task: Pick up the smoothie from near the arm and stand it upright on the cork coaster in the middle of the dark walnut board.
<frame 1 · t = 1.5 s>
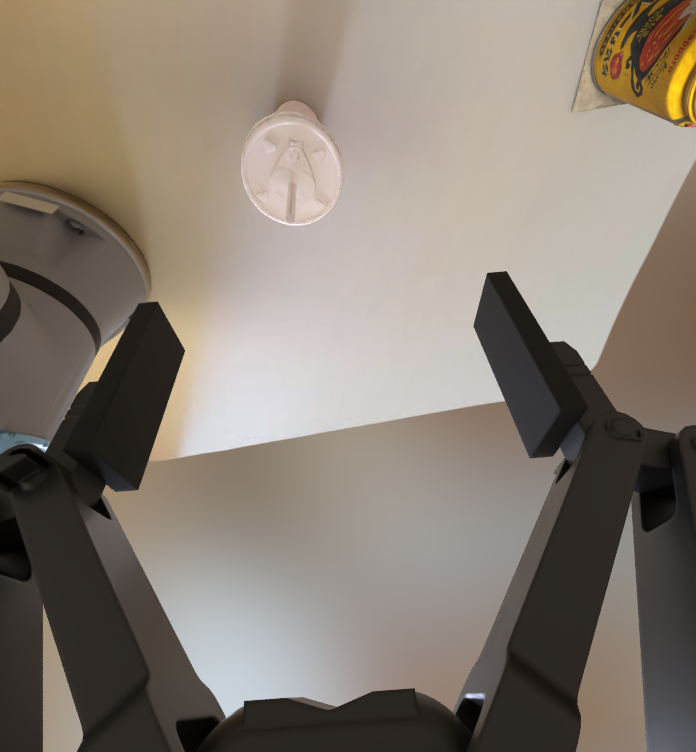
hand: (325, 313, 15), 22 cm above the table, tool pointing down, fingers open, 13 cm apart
condiment: (644, 42, 27), on the table
smoothie: (295, 128, 29), on the table
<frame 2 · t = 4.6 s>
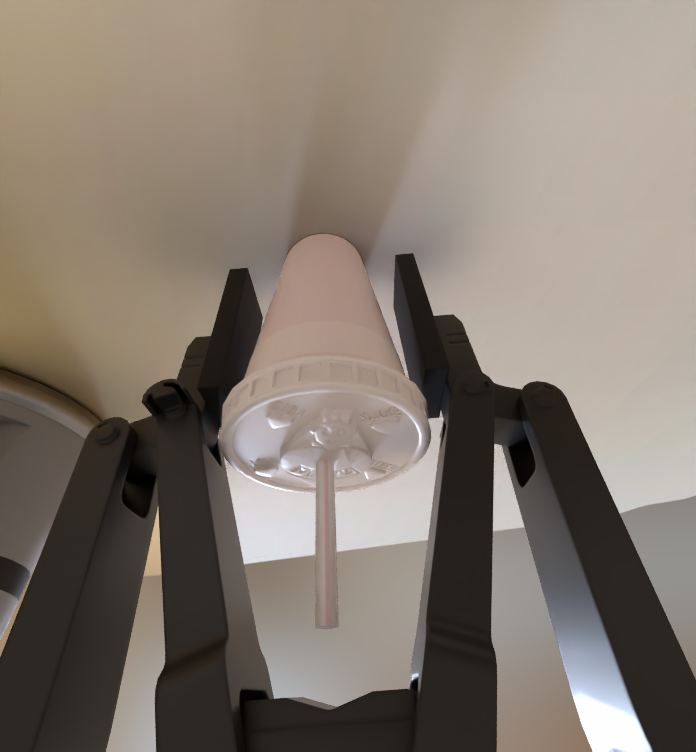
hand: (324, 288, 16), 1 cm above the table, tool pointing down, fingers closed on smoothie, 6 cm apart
smoothie: (324, 268, 18), on the table, touching gripper
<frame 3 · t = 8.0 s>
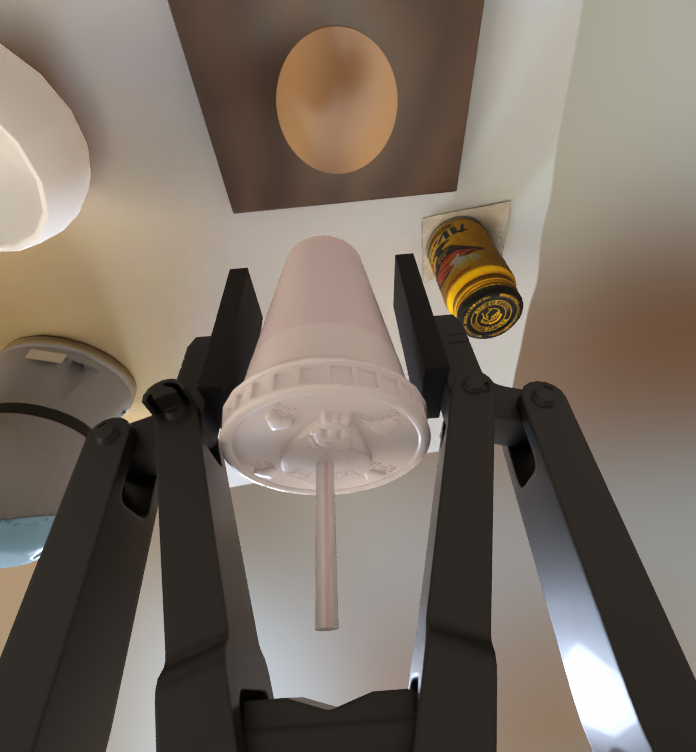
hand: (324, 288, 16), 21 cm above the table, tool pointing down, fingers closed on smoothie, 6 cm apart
board: (336, 103, 28), on the table
condiment: (462, 242, 38), on the table
smoothie: (324, 269, 18), point 19 cm above the table, touching gripper
cup: (23, 118, 28), on the table
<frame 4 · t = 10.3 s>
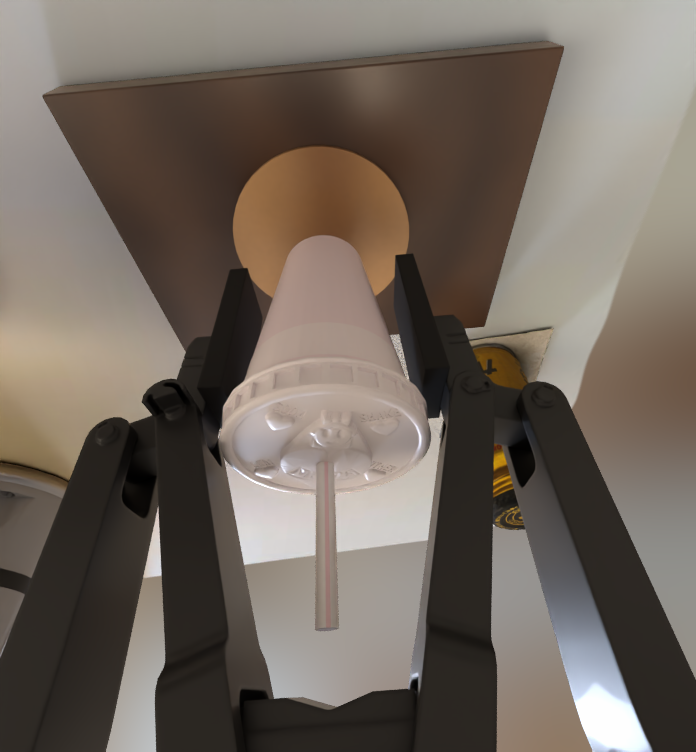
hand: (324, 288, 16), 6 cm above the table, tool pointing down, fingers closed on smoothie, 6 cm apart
board: (322, 228, 20), on the table
condiment: (486, 366, 30), on the table
smoothie: (324, 269, 18), point 4 cm above the table, touching gripper
when the fingers open (3 cm above the table, at t = 11.5 s): smoothie stays where it is, resting on board.
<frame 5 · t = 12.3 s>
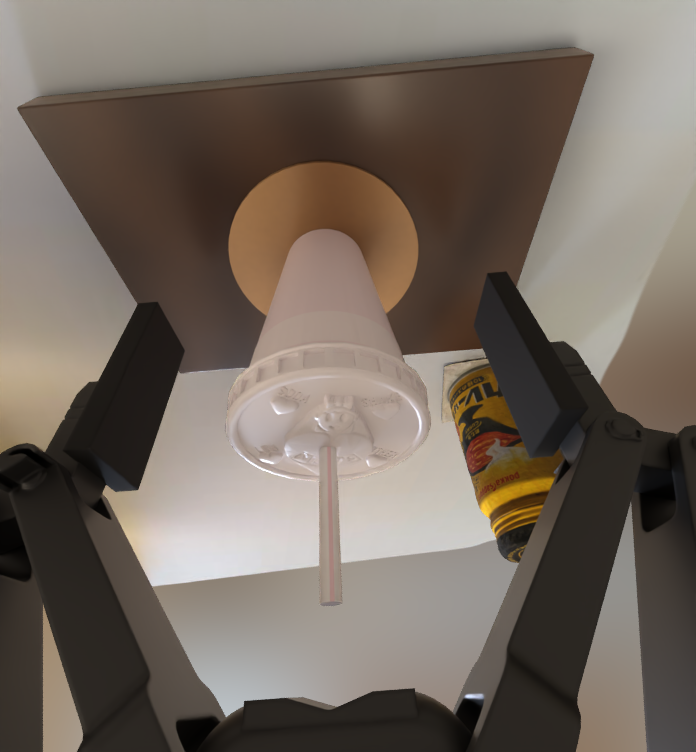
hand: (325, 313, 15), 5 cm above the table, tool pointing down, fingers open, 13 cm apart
board: (324, 246, 19), on the table
condiment: (496, 385, 29), on the table
smoothie: (325, 263, 18), point 2 cm above the table, touching board
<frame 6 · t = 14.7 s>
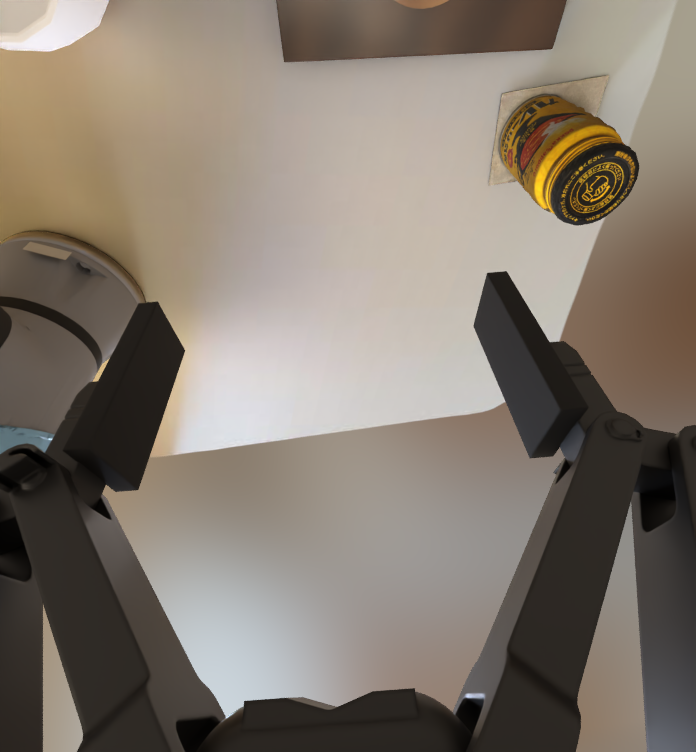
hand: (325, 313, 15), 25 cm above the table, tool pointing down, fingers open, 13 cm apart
condiment: (541, 134, 33), on the table
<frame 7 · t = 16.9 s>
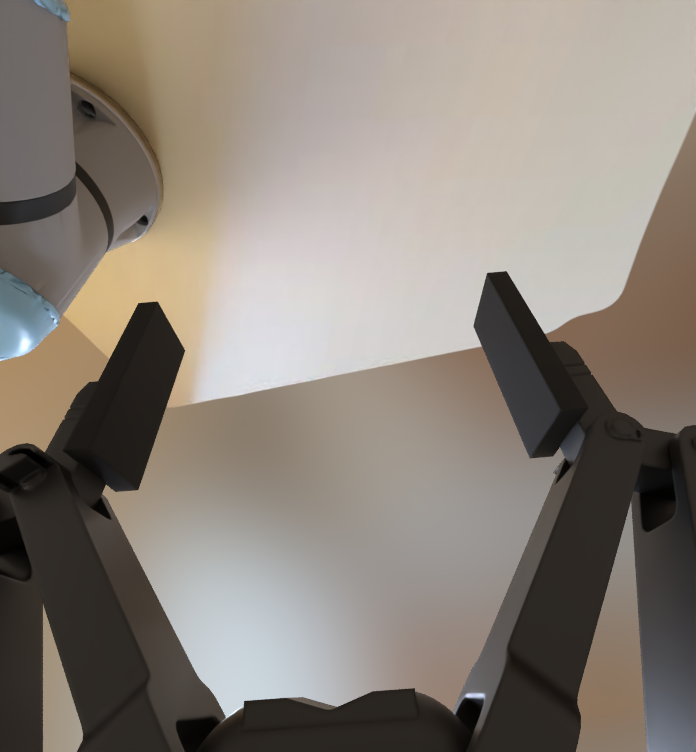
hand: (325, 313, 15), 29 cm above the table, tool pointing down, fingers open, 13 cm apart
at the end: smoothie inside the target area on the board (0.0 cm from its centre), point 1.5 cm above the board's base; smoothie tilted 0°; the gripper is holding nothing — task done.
